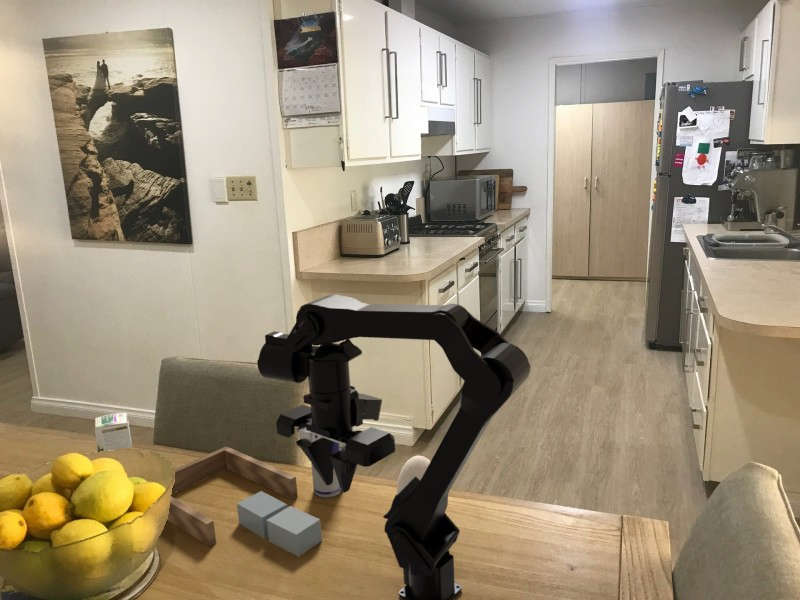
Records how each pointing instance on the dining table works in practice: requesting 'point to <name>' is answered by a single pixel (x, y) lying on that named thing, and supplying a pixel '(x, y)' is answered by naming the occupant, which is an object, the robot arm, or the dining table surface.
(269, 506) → the pale grey block
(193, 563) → the dining table surface
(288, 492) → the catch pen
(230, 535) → the dining table surface
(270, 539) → the light grey block
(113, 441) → the syrup box
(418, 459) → the egg
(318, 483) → the energy drink
